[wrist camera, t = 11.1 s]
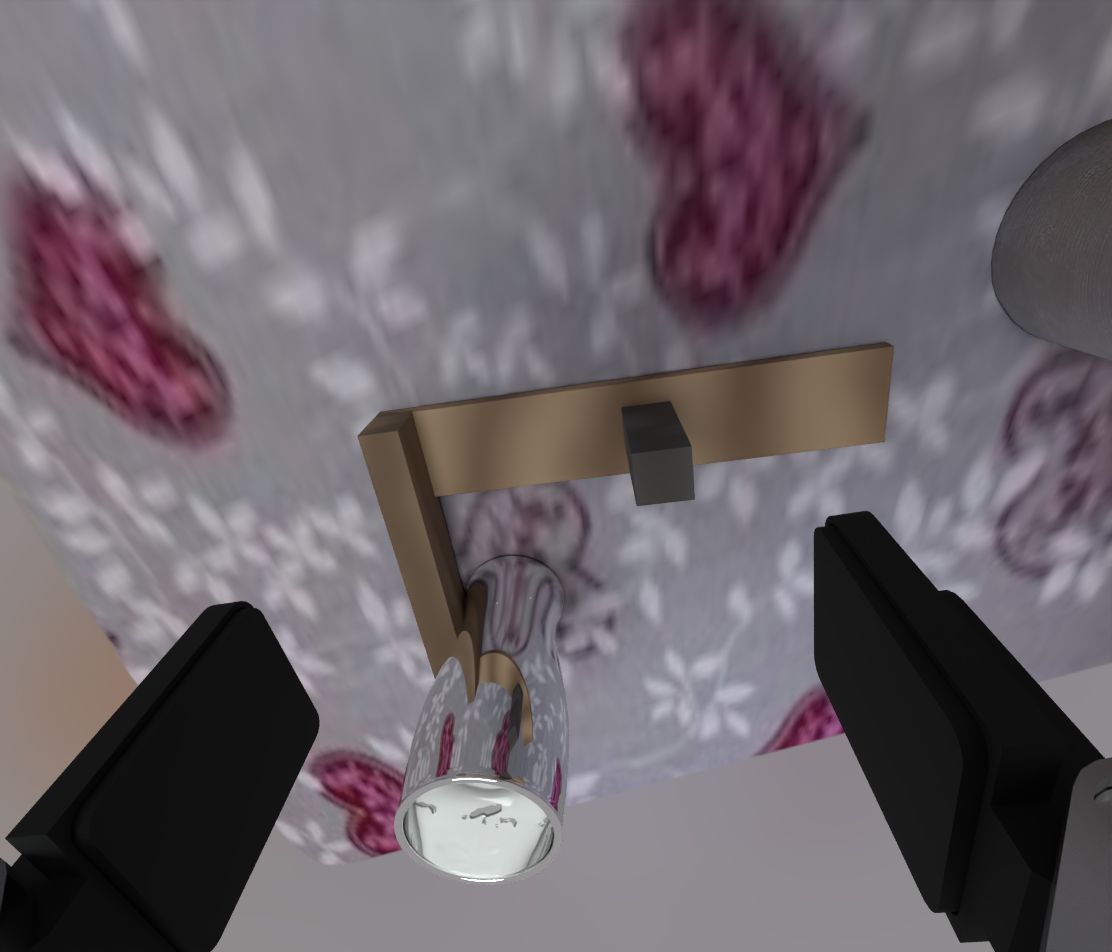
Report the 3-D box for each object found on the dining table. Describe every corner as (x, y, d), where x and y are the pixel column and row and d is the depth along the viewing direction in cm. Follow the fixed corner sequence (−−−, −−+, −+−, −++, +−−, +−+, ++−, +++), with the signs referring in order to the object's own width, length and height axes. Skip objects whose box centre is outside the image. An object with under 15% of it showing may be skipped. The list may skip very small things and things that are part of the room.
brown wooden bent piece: (885, 342, 28) (971, 381, 22) (860, 621, 36) (918, 709, 30) (379, 412, 31) (331, 464, 25) (453, 660, 38) (429, 748, 32)
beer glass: (584, 625, 37) (590, 874, 23) (482, 649, 38) (430, 900, 24) (551, 535, 34) (534, 758, 20) (442, 564, 35) (357, 793, 21)
